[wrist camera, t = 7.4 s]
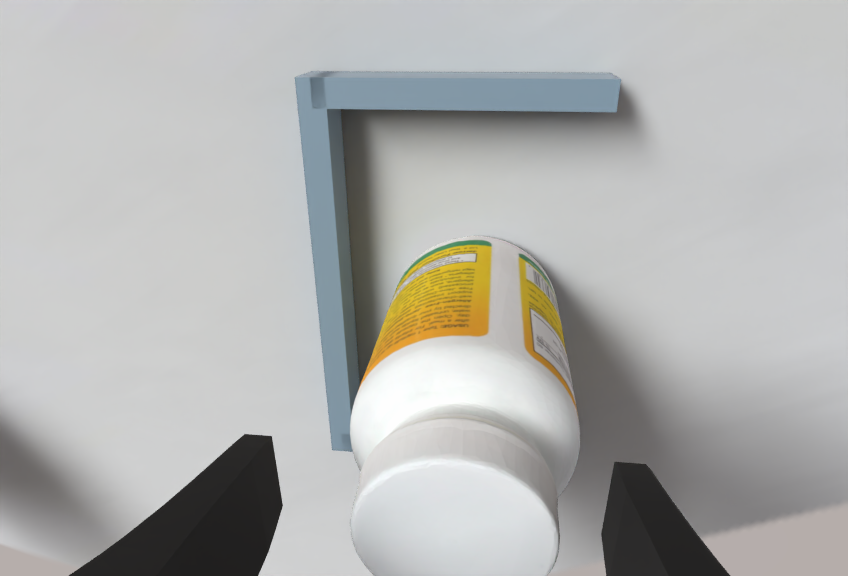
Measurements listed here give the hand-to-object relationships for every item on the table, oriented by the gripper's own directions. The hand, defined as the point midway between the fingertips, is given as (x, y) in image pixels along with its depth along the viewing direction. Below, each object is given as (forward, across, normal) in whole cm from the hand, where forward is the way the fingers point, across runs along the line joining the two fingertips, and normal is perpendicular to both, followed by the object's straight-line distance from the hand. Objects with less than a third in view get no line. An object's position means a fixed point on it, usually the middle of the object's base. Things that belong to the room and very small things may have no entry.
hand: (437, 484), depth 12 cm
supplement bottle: (+8, 0, 0) cm, 8 cm away
